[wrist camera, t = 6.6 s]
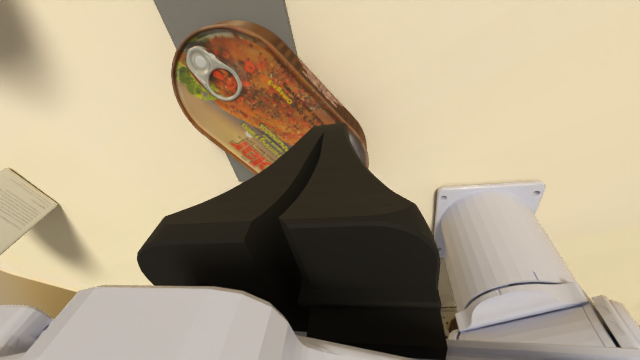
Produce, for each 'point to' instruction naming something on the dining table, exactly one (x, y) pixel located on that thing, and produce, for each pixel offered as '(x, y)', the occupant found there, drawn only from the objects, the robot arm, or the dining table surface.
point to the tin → (253, 93)
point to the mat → (217, 6)
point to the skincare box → (19, 207)
